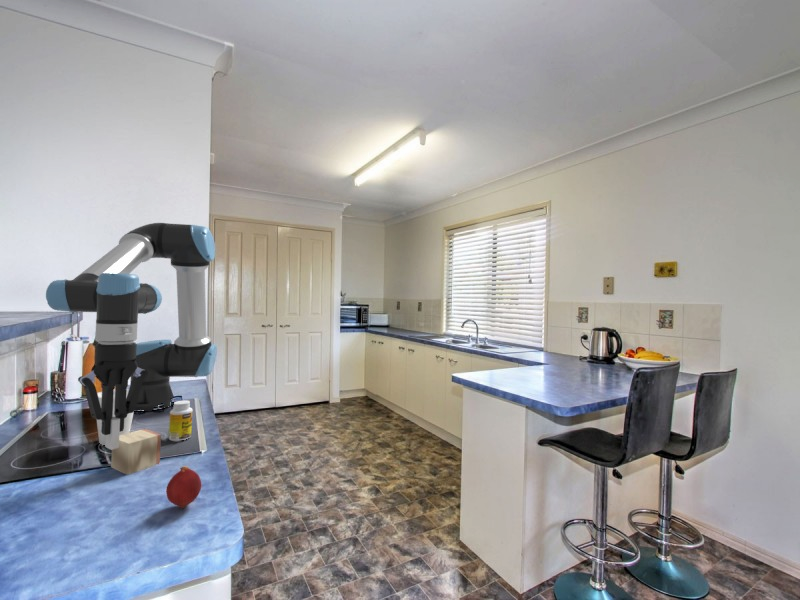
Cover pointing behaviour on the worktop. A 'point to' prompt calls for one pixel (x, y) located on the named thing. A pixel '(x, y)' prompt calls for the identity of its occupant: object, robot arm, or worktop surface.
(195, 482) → the onion
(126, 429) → the foam cup
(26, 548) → the worktop surface
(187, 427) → the supplement bottle
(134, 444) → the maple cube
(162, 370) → the robot arm
